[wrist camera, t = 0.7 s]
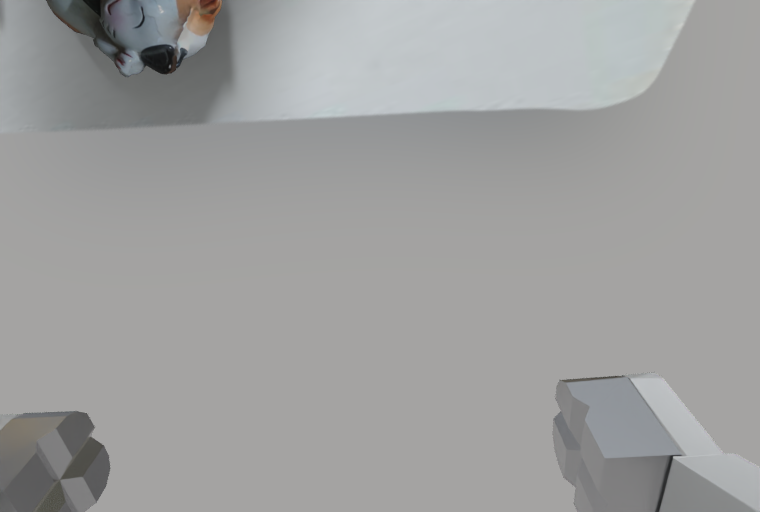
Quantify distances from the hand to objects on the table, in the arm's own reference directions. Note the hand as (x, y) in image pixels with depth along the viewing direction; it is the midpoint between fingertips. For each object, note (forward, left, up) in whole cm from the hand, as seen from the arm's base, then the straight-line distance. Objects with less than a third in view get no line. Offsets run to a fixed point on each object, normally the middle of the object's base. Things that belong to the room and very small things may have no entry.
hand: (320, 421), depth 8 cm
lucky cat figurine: (+8, -15, -50) cm, 53 cm away
